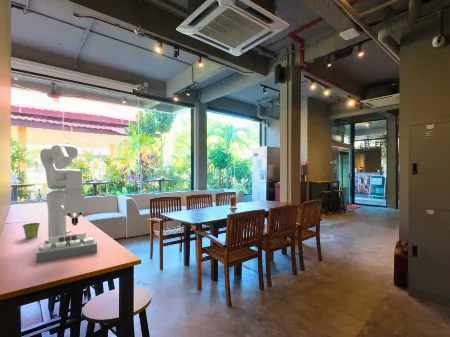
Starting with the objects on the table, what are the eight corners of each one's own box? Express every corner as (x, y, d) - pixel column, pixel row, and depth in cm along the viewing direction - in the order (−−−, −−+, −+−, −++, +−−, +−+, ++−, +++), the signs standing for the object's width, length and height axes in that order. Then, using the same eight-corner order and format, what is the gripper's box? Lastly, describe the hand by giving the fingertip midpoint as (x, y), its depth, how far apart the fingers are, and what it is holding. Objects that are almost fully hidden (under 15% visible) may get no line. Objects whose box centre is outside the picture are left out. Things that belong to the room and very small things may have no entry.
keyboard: (36, 262, 124) (36, 245, 123) (38, 255, 134) (37, 238, 133) (97, 252, 139) (96, 236, 138) (94, 246, 149) (94, 231, 148)
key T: (84, 246, 138) (83, 240, 138) (83, 243, 142) (83, 238, 142) (93, 244, 141) (93, 239, 141) (92, 242, 145) (92, 237, 145)
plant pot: (28, 240, 160) (28, 226, 160) (18, 238, 163) (18, 225, 163) (43, 236, 169) (43, 223, 168) (33, 234, 172) (33, 222, 171)
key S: (55, 250, 131) (55, 244, 131) (55, 248, 135) (55, 242, 135) (66, 249, 134) (66, 243, 134) (65, 246, 137) (65, 241, 137)
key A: (40, 253, 127) (40, 247, 127) (40, 250, 131) (40, 244, 131) (51, 251, 130) (51, 245, 130) (51, 248, 134) (51, 243, 134)
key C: (70, 248, 135) (70, 242, 135) (69, 245, 138) (69, 240, 138) (80, 246, 137) (80, 241, 137) (79, 244, 141) (79, 239, 141)
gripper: (58, 193, 130) (58, 228, 130) (90, 191, 138) (90, 224, 138) (58, 192, 136) (58, 225, 136) (89, 190, 144) (89, 221, 145)
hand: (74, 224), depth 137 cm, fingers closed
